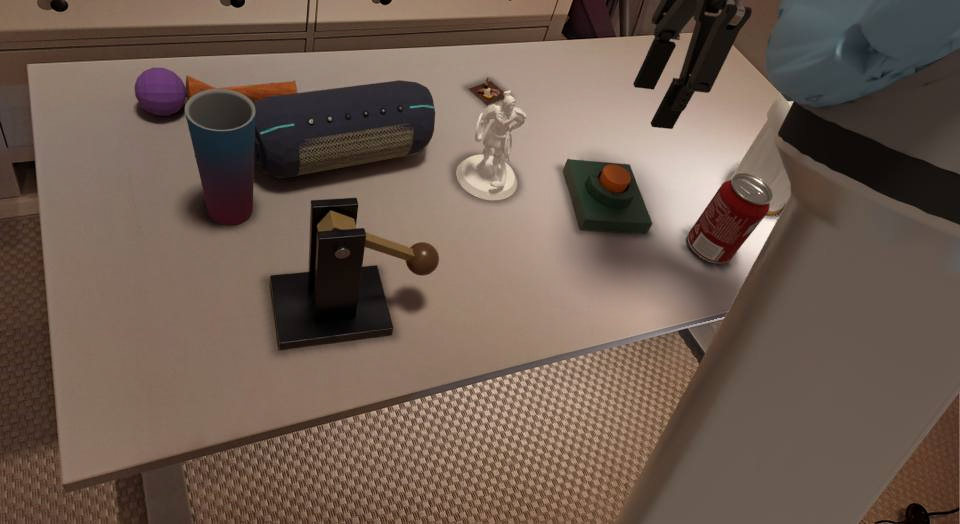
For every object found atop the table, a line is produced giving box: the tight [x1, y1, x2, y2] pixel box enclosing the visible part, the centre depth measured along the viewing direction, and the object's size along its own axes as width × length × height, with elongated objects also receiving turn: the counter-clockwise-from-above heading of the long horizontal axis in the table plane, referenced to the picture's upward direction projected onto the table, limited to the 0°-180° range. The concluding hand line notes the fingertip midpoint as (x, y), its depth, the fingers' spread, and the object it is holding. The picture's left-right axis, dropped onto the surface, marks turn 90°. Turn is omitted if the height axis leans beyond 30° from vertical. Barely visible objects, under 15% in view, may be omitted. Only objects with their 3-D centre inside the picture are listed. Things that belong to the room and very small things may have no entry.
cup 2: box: [728, 92, 794, 216], centre depth 97 cm, size 11×11×17 cm
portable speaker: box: [252, 80, 436, 179], centre depth 85 cm, size 25×10×10 cm, turn 118°
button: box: [599, 164, 631, 193], centre depth 91 cm, size 4×4×2 cm
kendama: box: [133, 67, 298, 116], centre depth 88 cm, size 6×6×20 cm
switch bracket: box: [269, 197, 394, 350], centre depth 67 cm, size 12×9×15 cm
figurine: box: [455, 89, 527, 201], centre depth 87 cm, size 9×9×15 cm
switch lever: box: [317, 211, 440, 276], centre depth 67 cm, size 14×4×4 cm
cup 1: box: [184, 89, 256, 226], centre depth 73 cm, size 7×7×15 cm
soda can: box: [687, 173, 773, 264], centre depth 89 cm, size 7×7×12 cm
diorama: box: [468, 76, 505, 106], centre depth 105 cm, size 3×4×2 cm
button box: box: [562, 158, 654, 235], centre depth 93 cm, size 12×10×4 cm
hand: (652, 105), depth 82 cm, fingers open, 7 cm apart
